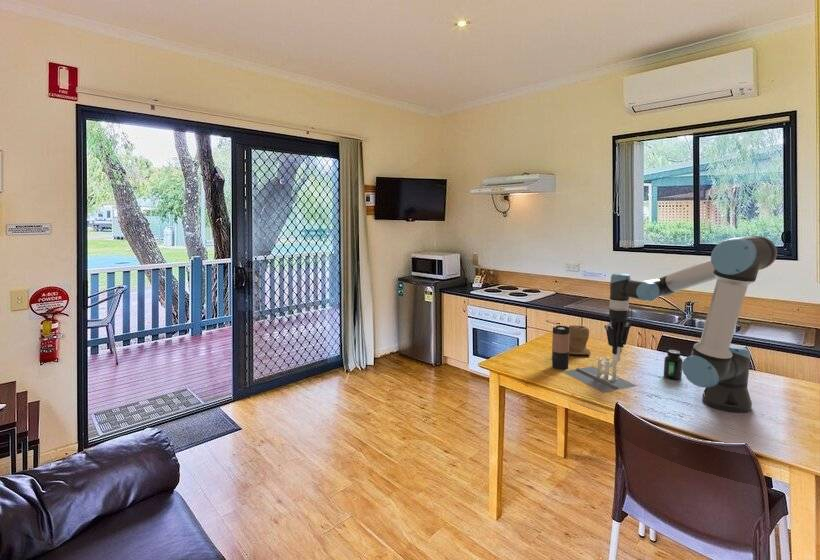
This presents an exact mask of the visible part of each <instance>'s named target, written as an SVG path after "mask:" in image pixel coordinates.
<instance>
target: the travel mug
mask: <svg viewBox="0 0 820 560" xmlns="http://www.w3.org/2000/svg"><path fill="white" fill-rule="evenodd" d="M551 344H552V346H551V358H552V359H551V360H552V362H551V363H552V364H551V366H552V369H555V370H560V371H567V370H568V369H569V361H570V360H569V359H570V354H569V326H566V325H556V326H552V342H551Z"/></svg>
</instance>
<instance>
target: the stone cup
mask: <svg viewBox="0 0 820 560" xmlns="http://www.w3.org/2000/svg"><path fill="white" fill-rule="evenodd" d="M568 327H569V355H576V356H577V355H580V356H583V355H584V356H586V355H591V353H592V351H591V350H590V349H588V348H587V344H588V343H587V342H588V340H589V337H590V329H589V327H587V326H584V325H576V324H574V325H572V324H571V325H569V326H568Z"/></svg>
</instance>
